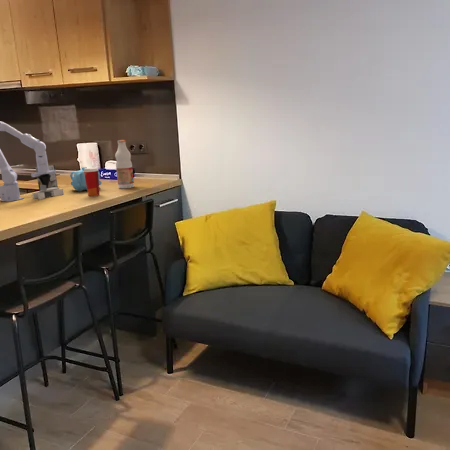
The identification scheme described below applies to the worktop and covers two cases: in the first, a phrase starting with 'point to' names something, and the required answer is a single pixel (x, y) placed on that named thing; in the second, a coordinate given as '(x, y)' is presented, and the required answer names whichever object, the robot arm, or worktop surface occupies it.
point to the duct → (53, 192)
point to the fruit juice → (124, 166)
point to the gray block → (47, 194)
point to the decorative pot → (80, 180)
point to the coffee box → (52, 179)
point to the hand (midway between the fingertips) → (45, 188)
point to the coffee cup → (92, 181)
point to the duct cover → (43, 188)
